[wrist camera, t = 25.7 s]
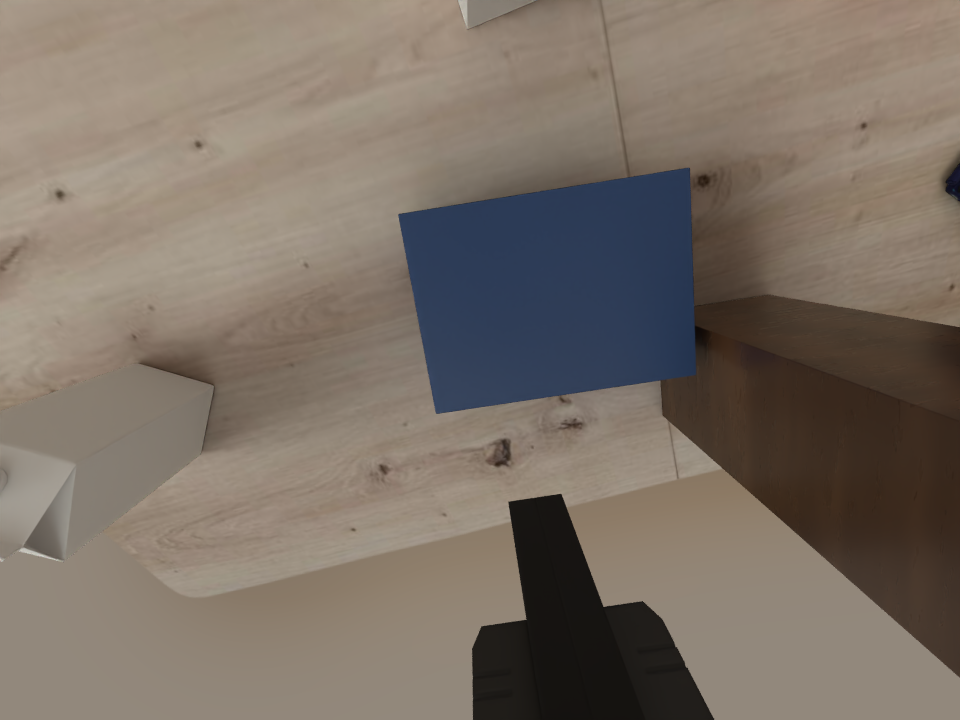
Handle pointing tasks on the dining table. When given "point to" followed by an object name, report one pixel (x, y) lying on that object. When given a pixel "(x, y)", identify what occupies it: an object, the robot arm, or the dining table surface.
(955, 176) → the laptop
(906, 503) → the stand
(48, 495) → the milk carton
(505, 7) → the white double channel rack
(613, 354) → the lid
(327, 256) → the dining table surface
